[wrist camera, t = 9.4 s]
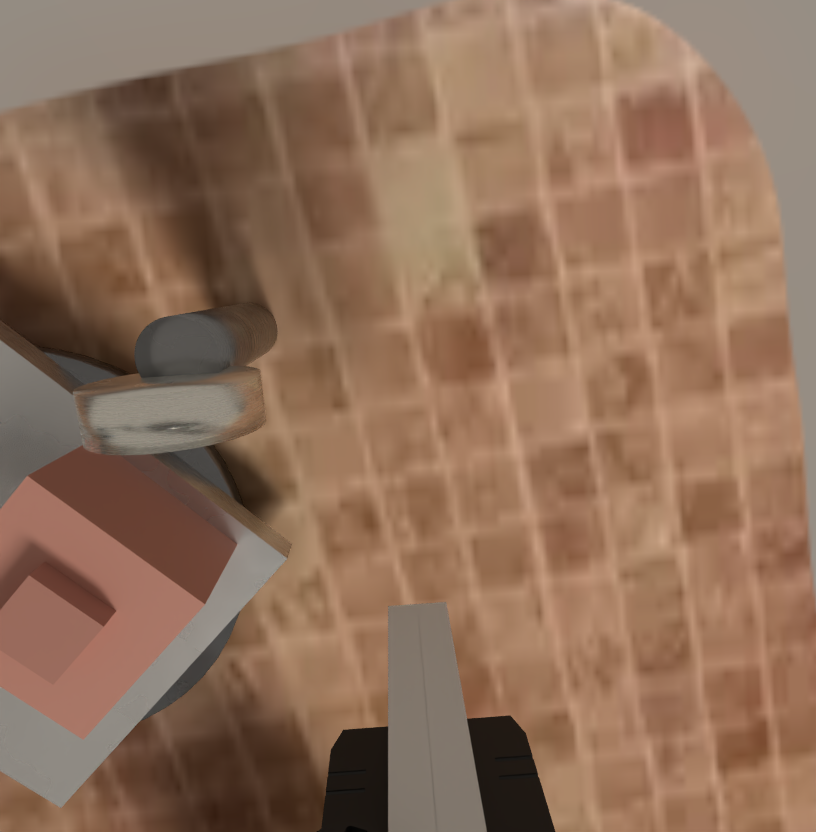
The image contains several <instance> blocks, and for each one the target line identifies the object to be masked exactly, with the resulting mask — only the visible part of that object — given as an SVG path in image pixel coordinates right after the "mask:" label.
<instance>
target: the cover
mask: <svg viewBox="0 0 816 832" xmlns="http://www.w3.org/2000/svg"><path fill="white" fill-rule="evenodd" d="M237 545H238V544H236V543H235V542H234V541H232V540H231V539H230V538H229V537H227V536H226V535H225V534H223V533H222V532H221V531H219V530H218V529H217V528H215V527H214V526H213V525H211V524H210V523H209V522H207V521H206V520H205V519H203V518H202V517H201V516H199V515H198V514H197V513H195V512H194V511H193V510H191V509H190V508H189V507H188V506H186V505H185V504H184V503H182V502H181V501H180V500H178V499H177V498H176V497H174V496H173V495H172V494H170V493H169V492H168V491H166V490H165V489H164V488H162V487H161V486H160V485H158V484H157V483H156V482H154V481H153V480H152V479H150V478H149V477H148V476H147V475H145V474H144V473H143V472H141V471H140V470H139V469H137V468H136V467H135V466H133V465H132V464H131V463H129V462H128V461H127V460H125V459H124V458H123V457H121V456H120V455H105V454H98V453H93V452H90V451H88V450H86V449H85V448H84V447H83V445H82V446H80V447H78V448H76V449H75V450H73V451H71V452H69V453H67V454H65V455H64V456H62V457H60V458H58V459H56V460H55V461H53V462H51V463H49V464H47V465H46V466H44V467H42V468H40V469H38V470H37V471H35V472H33V473H31V474H29V475H28V476H27V477H26V478H25V479H24V480H23V482H22V483H21V484H20V485H19V487H18V488H17V489H16V490H15V492H14V493H13V494H12V495H11V497H10V498H9V499H8V500H7V502H6V503H5V504H4V505H3V506H2V508H1V509H0V687H2V688H3V689H5V690H6V691H8V692H9V693H11V694H13V695H14V696H16V697H17V698H19V699H20V700H22V701H23V702H25V703H27V704H28V705H30V706H31V707H33V708H34V709H36V710H38V711H39V712H41V713H42V714H44V715H45V716H47V717H48V718H50V719H52V720H53V721H55V722H56V723H58V724H59V725H61V726H62V727H64V728H66V729H67V730H69V731H70V732H72V733H73V734H75V735H76V736H78V737H80V738H81V739H83V740H84V739H85V738H86V736H87V735H88V734H89V733H90V732H91V731H92V730H93V729H94V728H95V726H96V725H97V724H98V723H99V722H100V721H101V720H102V719H103V718H104V716H105V715H106V714H107V713H108V712H109V711H110V710H111V709H112V708H113V706H114V705H115V704H116V703H117V702H118V701H119V700H120V699H121V697H122V696H123V695H124V694H125V693H126V692H127V691H128V690H129V689H130V687H131V686H132V685H133V684H134V683H135V682H136V681H137V680H138V679H139V677H140V676H141V675H142V674H143V673H144V672H145V671H146V670H147V669H148V667H149V666H150V665H151V664H152V663H153V662H154V661H155V660H156V659H157V657H158V656H159V655H160V654H161V653H162V652H163V651H164V650H165V649H166V647H167V646H168V645H169V644H170V643H171V642H172V641H173V640H174V639H175V637H176V636H177V635H178V634H179V633H180V632H181V631H182V630H183V629H184V627H185V626H186V625H187V624H188V623H189V622H190V621H191V620H192V619H193V617H194V616H195V615H196V614H197V613H198V612H199V611H200V610H201V609H202V607H203V606H204V605H205V604H206V602H207V600H208V598H209V596H210V595H211V593H212V591H213V589H214V587H215V585H216V583H217V582H218V580H219V578H220V576H221V574H222V572H223V570H224V569H225V567H226V565H227V563H228V561H229V559H230V558H231V556H232V554H233V552H234V550H235V548H236V546H237Z"/></svg>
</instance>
